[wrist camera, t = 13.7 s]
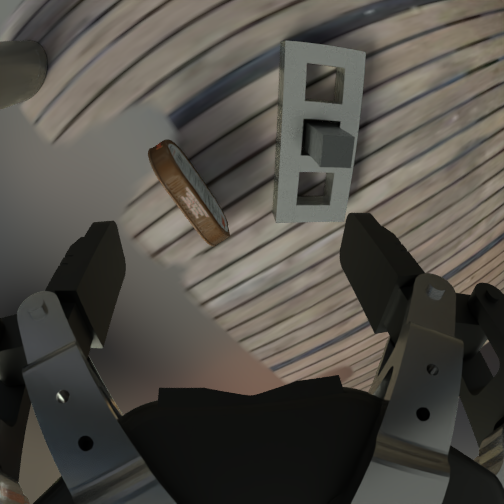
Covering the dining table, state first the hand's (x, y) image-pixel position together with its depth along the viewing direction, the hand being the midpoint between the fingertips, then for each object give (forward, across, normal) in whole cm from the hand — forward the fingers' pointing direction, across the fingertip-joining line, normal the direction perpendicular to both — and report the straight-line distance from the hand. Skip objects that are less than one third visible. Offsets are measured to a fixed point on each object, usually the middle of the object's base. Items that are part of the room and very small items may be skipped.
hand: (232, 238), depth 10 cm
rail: (+30, -12, +3) cm, 33 cm away
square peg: (+30, -12, +3) cm, 33 cm away
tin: (+30, +4, +10) cm, 32 cm away
